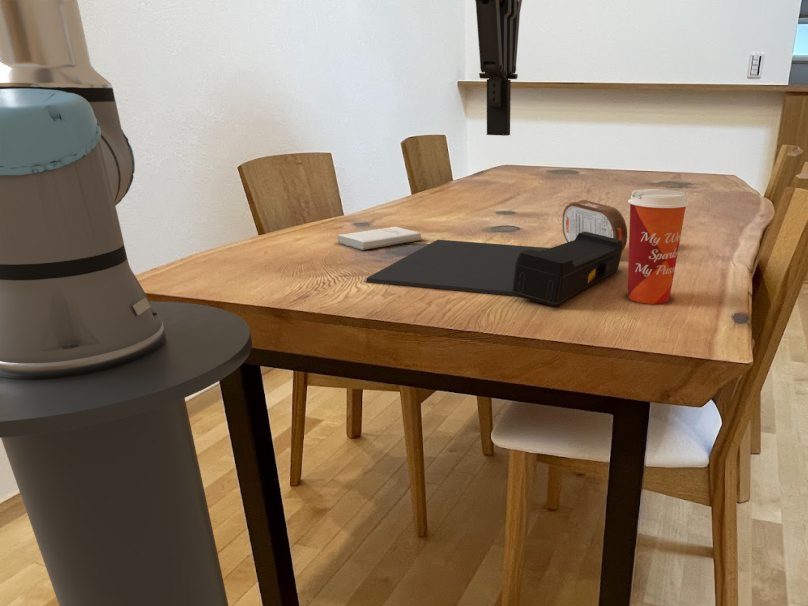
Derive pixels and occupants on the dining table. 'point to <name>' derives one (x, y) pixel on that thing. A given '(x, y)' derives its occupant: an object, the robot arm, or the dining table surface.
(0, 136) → the robot arm
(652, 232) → the paper cup
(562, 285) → the portable radio
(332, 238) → the dining table surface
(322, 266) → the dining table surface
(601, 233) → the tin
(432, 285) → the mat
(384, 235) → the hard drive
